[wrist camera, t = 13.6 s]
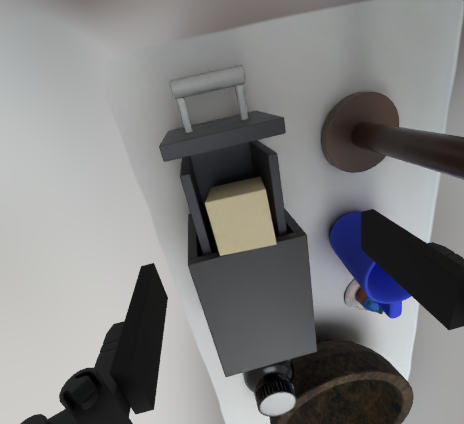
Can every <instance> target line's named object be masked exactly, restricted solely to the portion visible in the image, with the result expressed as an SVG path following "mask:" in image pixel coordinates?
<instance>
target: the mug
mask: <svg viewBox="0 0 464 424" xmlns="http://www.w3.org/2000/svg"><path fill="white" fill-rule="evenodd" d="M330 243H331V246H332V248H333V250H334V252H335V253H336V254H337V256H338V257H339V258H340V260H341V261H342V262H343V264H344V265H345V266H346V268H347V269H348V270H349V272H350V273H351V274H352V276H353V277H354V278H355V280H356V281H357V282H358V284H359V285H360V286H361V288H362V289H363V290H364V292H365V293H366V294H367V296H368V297H369V298H370V299H372V300H374V301H376V302H377V303H378V305H379V306H380V307H381V308H382V310H383V311H384V312H385V313H386V314H387V316H388V317H390V318H396V317H398V316H400V315H401V310H402V301H403V300H405V299H407V298H409V297H411V295H410V294H409V293H408V292H407V291H406V290H405V289H404V288H403V287H401V286H400V285H399V284H398V283H397V282H396V281H395V280H394V279H393V278H392V277H391V276H390V275H388V274H387V273H386V272H385V271H384V270H383V269H382V268H381V267H380V266H379V265H378V264H377V263H375V262H374V261H373V260H372V259H371V258H370V257H369V256H368V255H367V254H366V253H365V252H363V251H362V250H361V212H352V213H349V214H346V215H344V216H343V217H341V218H340V219H339V220H338V221H337V222H336V223H335V224H334V226H333V227H332V230H331V233H330Z"/></svg>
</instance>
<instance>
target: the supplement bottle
mask: <svg viewBox="0 0 464 424" xmlns="http://www.w3.org/2000/svg"><path fill="white" fill-rule="evenodd" d="M294 374H295V369H294V365H293V362H292V359H289V360H285V361H282V362H278V363H274V364H271V365H267V366H264V367H260V368H257V369H253V370H250V371H246V372H243V376H244V380H245V383H246V385H247V387H248V388H249V389H250V390H251V391H252V392H254V394H255V399H256V401H257V406H258V410H259V412H260V413H261V414H263V415H266V416H269V417H275V416H281V415H283V414H285V413H288V412H289V411H291V410H292V409H293V408H294V407H295V405H296V402H297V397H296V394H295V391H294V387H293V384H292V381H293V378H294Z"/></svg>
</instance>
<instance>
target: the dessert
mask: <svg viewBox="0 0 464 424" xmlns="http://www.w3.org/2000/svg"><path fill="white" fill-rule="evenodd" d="M345 303H346V305H347V306H350V307H356V308H358V309H361V310H369V311H373V312H378V313H379V314H382V313H383V310H382V308H381V307H380V306H379V305H378V303H377V302H376V301H374V300H372V299H370V298H369V297H368V296H367V294H366V293H365V292H364V290H363V289H362V288H361V286H360V285H359V284H358V282H357V281H356V280H353V281H352V282H351V284H350V286H349V287H348V289H347V291H346V294H345ZM356 308H355V309H356Z"/></svg>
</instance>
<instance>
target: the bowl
mask: <svg viewBox="0 0 464 424" xmlns="http://www.w3.org/2000/svg"><path fill="white" fill-rule="evenodd" d="M316 344H317V352H313V353H310V354H306V355H303V356H299V357H296V358H292V362H293V365H294V369H295V374H294V378H293V381H292V384H293V387H294V391H295V394H296V397H297V402H296V405H295V407H294V408H293V409H292V410H291V411H289V412H288V413H285V414H283V415H281V416H275V417H270V423H271V424H401V423H402V422H403V421H404V419H405V418H406V417H407V415H408V414H409V411H410V409H411V407H412V403H413V391H412V388H411V386H410V385H409V383H408V381H407V380H406V379H405V378H404V377H403V376H402V375H401V374H400V373H399V372H398V371H397V370H396V369H395V368H394V367H393V366H392V364H391V363H390V362H389V361H387V360H386V359H385V358H384V357H382V356H381V355H379V354H378V353H376V352H375V351H373V350H371V349H369V348H367V347H365V346H362V345H359V344H357V343H354V342H350V341H345V340H331V341H323V342H319V343H316Z"/></svg>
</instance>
